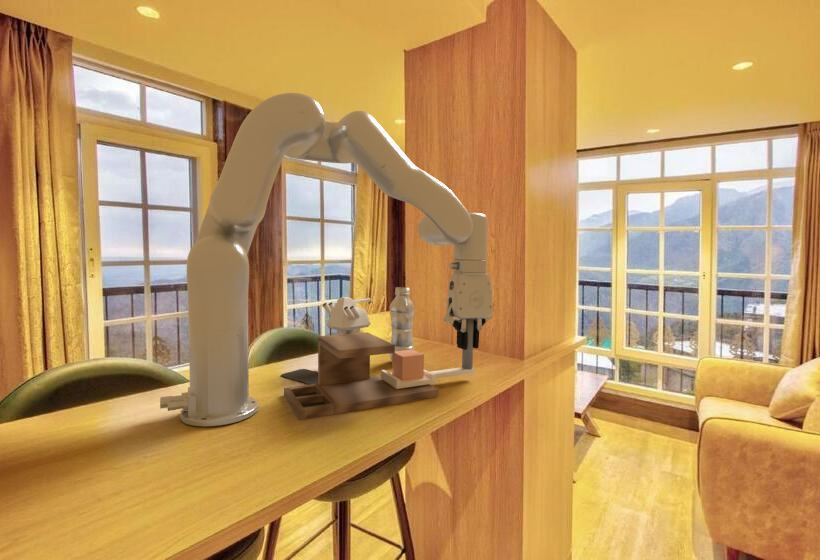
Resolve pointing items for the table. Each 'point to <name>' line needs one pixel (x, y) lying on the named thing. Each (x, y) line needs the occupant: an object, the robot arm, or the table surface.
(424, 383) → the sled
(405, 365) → the block
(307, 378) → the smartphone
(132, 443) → the table surface
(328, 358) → the desk organizer
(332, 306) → the white mech figurine
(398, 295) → the plastic bottle
